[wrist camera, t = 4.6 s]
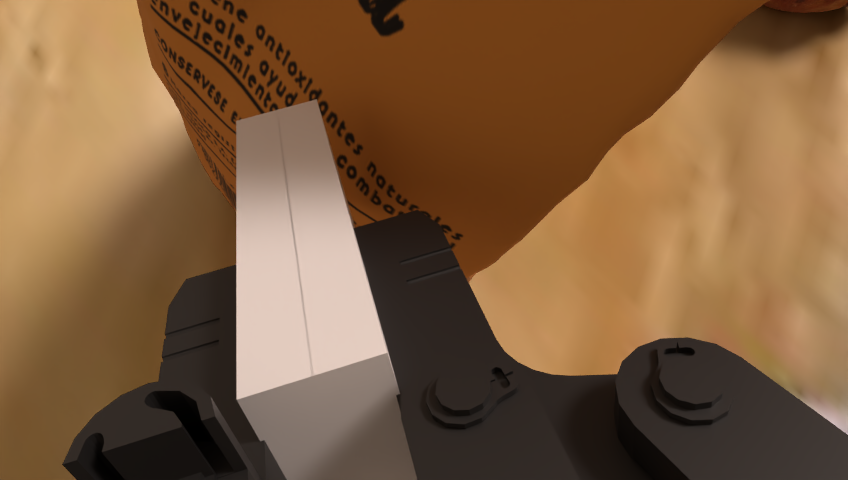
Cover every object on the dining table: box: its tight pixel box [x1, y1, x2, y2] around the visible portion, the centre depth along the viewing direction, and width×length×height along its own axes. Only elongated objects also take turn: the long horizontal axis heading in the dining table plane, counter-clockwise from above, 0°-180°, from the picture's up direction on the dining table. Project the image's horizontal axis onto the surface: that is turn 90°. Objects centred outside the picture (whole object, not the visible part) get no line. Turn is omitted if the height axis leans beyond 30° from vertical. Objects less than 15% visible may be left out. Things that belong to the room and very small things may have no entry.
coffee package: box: [137, 0, 770, 283], centre depth 15 cm, size 10×12×22 cm
